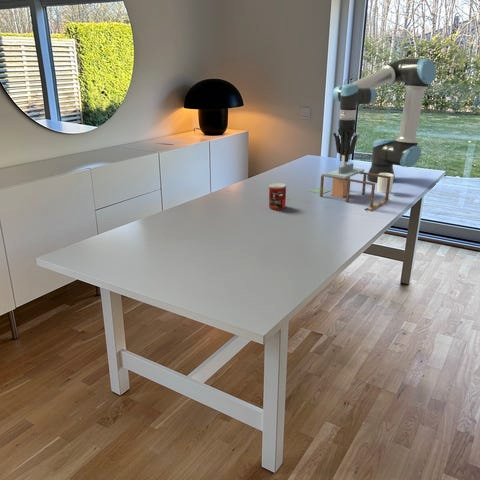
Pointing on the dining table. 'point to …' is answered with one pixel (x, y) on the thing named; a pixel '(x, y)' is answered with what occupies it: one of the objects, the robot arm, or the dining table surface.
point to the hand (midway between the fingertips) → (343, 168)
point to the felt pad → (317, 190)
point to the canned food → (277, 196)
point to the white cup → (384, 182)
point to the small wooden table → (362, 189)
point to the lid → (345, 171)
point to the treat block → (339, 187)
